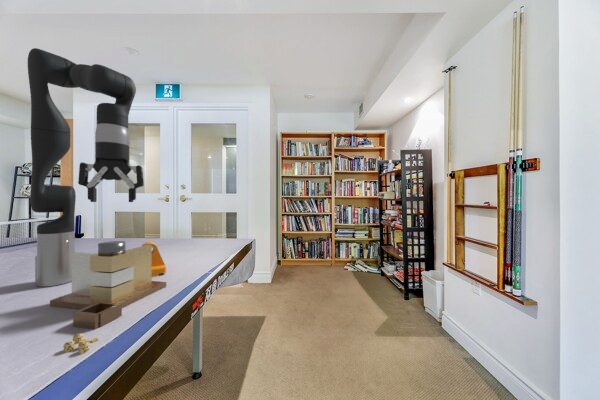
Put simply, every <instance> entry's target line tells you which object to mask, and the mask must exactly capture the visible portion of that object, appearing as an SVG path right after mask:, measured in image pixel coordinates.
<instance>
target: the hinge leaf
mask: <svg viewBox="0 0 600 400" xmlns="http://www.w3.org/2000/svg"><path fill="white" fill-rule="evenodd" d="M96 254H98V252H82V251H81V252H79V251H75V252H73V253H72V281H71V293H81V294H90V286H104V287H113V286H116V285H119V284H121V283H124V282H127V281H129V280H132V279H134V266H130V267H127V268H124V269H120V270H117V271H114V272H101V271H90V256H91V255H96Z"/></svg>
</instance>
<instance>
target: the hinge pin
mask: <svg viewBox="0 0 600 400" xmlns="http://www.w3.org/2000/svg"><path fill="white" fill-rule="evenodd" d="M97 245H98V246H97V248H98V249H97V253H98V255H99V256H113V255H120V254H123V253H125V250H126V241H125V240H112V241H103V242H99V243H97Z"/></svg>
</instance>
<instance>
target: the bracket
mask: <svg viewBox="0 0 600 400" xmlns="http://www.w3.org/2000/svg"><path fill="white" fill-rule="evenodd" d="M145 245H152V270H151V278H154V277H159V276H160V275H161V274H165V273H167V266H166V265H165V262H164V259H163V257H162V255H161V253H160V251H159V249H158V246H157V245H156V243H155V242H152V241H146V242H145V243H143V244H142V245H141V246H145Z"/></svg>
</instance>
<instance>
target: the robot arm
mask: <svg viewBox="0 0 600 400" xmlns="http://www.w3.org/2000/svg"><path fill="white" fill-rule="evenodd" d="M27 73H28V74H27V75H28V83H29V92H30V106H31V107H30V145H31V146H30V149H31V179H30V195H29V197H30V198H29V200H30V201H29V202H30V208H31V210H32V211H33V212H34V213H39V214H41V213H45V214H46V213H62V215H60V216H59V217H57V218H55V219H52V220H51V221H46V222H43V223H40V224H38V225H37V227H36V255H35V257H34V260H35V263H34V264H35V265H34V269H35V270H34V273H35V274H34V277H35V279H34V280H35V281H34V284H35V285H36V286H37V287H44V288H45V287H55V286H60V285H65V284H68V283H72V253H73V252H76V251H75V250H76V249H75V248H76V247H75V246H76V245H75V243H76V241H75V239H76V238H75V236H76V235H75V232H76V231H75V225H76V224H75V211H76V197H77V195H76V189H75V188H74V186H71V185H61V184H60V185H59V184H58V185H57V184H56V185H54V184H51V185H49V184H45V182H46V179H47V177H48V175H49V174H50V173H51V171H52V170H53V169H54V167H55V166H56V165H57V164H58V163H60V161H61V160H62V159H63V158H64V157H65V156H66V155H67V153H68V152H69V151H70V148H71V128H70V127H71V126H70V125H69V123H68V121H67V120H66V119H65V117H64V116H63V114H62V113H61V112H60V110H59V109H58V106H57V105H56V104H55V102H54V100H53V99H52V97H51V93H50V90H49V85H48V84H51V85H53V86H58V87H61V88H65V89H66V88H67V89H73V88H77V89H78V88H80V89H82V90H86V91H89V92H93V93H97V94H102V95H105V96H108V97H111V98H113V99H115V101H114V103H111V102H100V103H98V104H97V106H96V126H95V132H94V133H95V134H94V135H95V136H94V137H95V138H94V139H95V140H94V141H95V142H94V143H95V144H94V145H95V146H94V147H95V150H94V151H95V153H94V157H95V158H94V159H95V160H94V163H85V162H80V163H79V168H78V181H77V182H78V183H77V184H79V186H83V187H85V188H87V200H89V201H90V203H97V198H98V197H97V196H98V195H97V188H96V187H97V186H98V185H99V184H100V183H101V182H103V181H104V180H106V181H112V180H114V181H122V180H123V182H124V183H125V184H126V185H127V186H128V187H129V188H128V203H133V202H134V201H136V200H137V189H138V188H141V187H142V188H143V187H144V185H145V184H144V182H145V181H144V170H143V166H141V165H131V164H130V144H131V141H130V132H129V114H130V111H131V108H132V104H133V101H134V99H135V96H136V93H137V87H136V85H135V82H134V80H133V79H132V78H131V77H130V76H128V75H126V74H124V73H121V72H119V71H117V70H114V69H113V68H110V67H107V66H105V65H102V64H97V63H94V64H91V65H89V64H82V63H80V64H77V63H75V62H73V61H71V60H69V59H67V58H66V57H62V56H60V55H57V54H55V53H52V52H49V51H47V50H44V49H40V48H37V47H36V48H35V47H34V48H31V49H30V51H29V52H28V56H27ZM92 169H93V170H94V171H95V172H96V173H95V175H94V176H93V177H92V179H91V180H90V181H89V173H90V172H91V171H92ZM131 171H132V172H133V173H134V174H136V183H135V182H133V180H132V179H131V178H130V176H129V175H128V174H129V173H131Z"/></svg>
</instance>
